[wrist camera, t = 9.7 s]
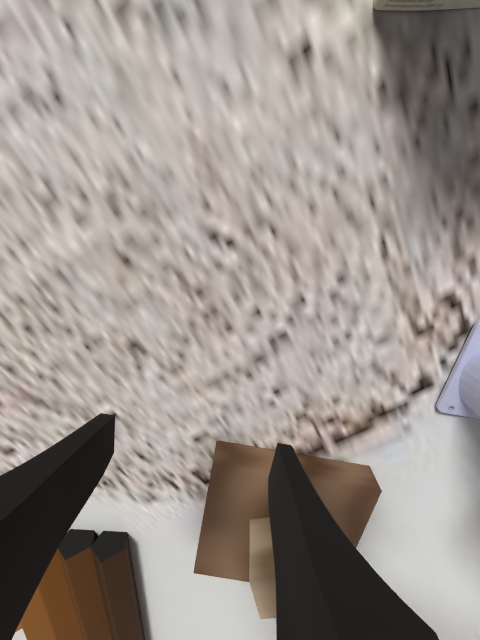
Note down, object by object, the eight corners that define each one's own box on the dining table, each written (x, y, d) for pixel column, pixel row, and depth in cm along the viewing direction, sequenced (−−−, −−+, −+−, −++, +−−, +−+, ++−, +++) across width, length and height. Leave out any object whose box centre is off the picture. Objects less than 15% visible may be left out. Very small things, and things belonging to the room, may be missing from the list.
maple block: (301, 514, 24) (311, 576, 20) (307, 549, 25) (318, 614, 21) (249, 519, 24) (249, 581, 20) (259, 553, 26) (260, 618, 22)
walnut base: (369, 466, 25) (381, 491, 23) (327, 566, 30) (334, 595, 27) (216, 440, 25) (213, 463, 23) (198, 545, 29) (193, 573, 27)
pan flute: (153, 657, 38) (133, 527, 30) (144, 696, 35) (119, 563, 27) (-23, 644, 39) (-89, 515, 31) (-48, 682, 36) (-129, 549, 27)
